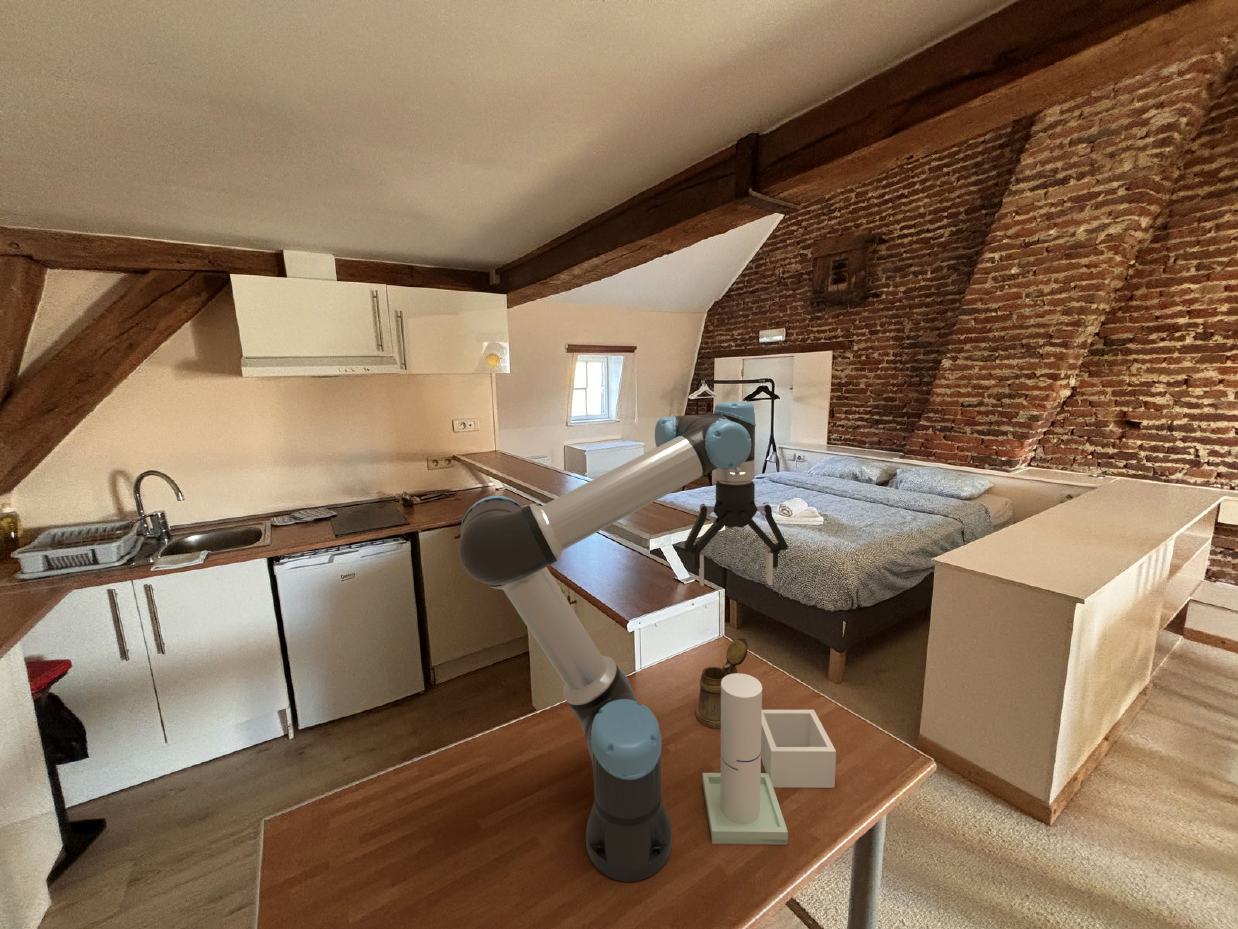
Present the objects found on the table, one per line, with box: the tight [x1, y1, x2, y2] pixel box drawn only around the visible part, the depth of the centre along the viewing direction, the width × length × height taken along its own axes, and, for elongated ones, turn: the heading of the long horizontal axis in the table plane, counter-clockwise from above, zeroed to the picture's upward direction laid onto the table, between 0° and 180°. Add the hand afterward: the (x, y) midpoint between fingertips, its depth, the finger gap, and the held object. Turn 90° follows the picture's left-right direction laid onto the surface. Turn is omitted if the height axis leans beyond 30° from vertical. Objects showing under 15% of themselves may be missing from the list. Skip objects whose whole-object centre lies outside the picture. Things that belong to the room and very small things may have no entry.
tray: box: [702, 772, 789, 846], centre depth 92 cm, size 13×13×2 cm
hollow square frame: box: [761, 709, 837, 789], centre depth 102 cm, size 12×12×8 cm
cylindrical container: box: [720, 672, 763, 824], centre depth 90 cm, size 7×7×25 cm
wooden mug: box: [695, 637, 749, 730], centre depth 118 cm, size 9×14×18 cm, turn 114°
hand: (735, 582), depth 100 cm, fingers open, 13 cm apart
